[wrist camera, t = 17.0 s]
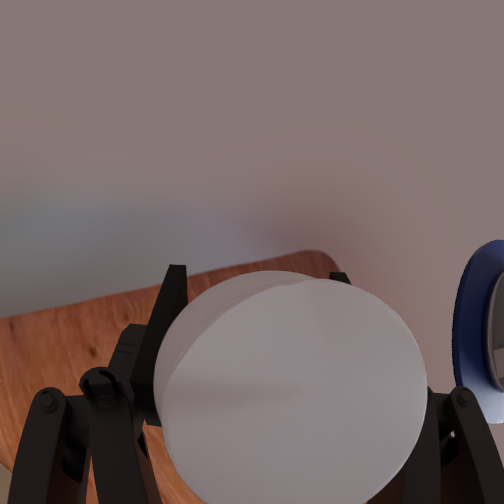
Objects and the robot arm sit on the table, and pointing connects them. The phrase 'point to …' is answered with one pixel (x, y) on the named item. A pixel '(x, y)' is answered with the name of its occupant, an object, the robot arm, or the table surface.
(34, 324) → the table surface
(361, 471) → the supplement bottle
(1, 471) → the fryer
